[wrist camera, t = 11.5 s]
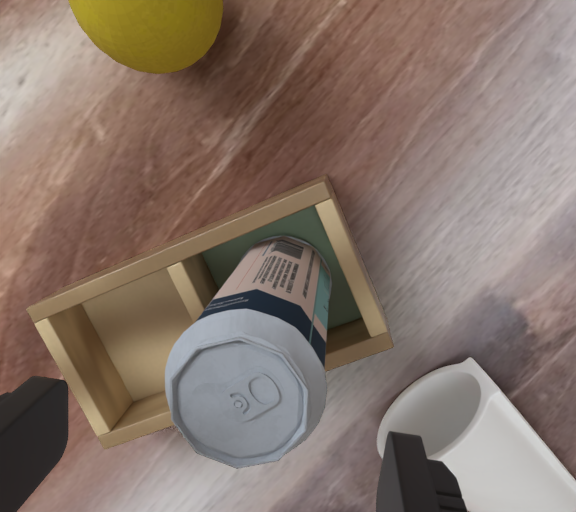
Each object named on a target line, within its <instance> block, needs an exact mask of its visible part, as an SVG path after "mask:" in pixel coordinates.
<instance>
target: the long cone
mask: <svg viewBox="0 0 576 512" xmlns="http://www.w3.org/2000/svg"><path fill="white" fill-rule="evenodd" d="M389 431H393V432H399V433H406V434H412V435H419V436H421V438H422V441H423V445H424V449H425V452H426V456H427V459H431V460H437V461H442V462H443V463H444V464H445V465H446V466H447V467H448V469H449V470H450V471H451V472H452V473H453V474H454V476H455V477H456V478H457V481H458V484H459V487H460V490H461V493H462V499H464V502H465V505H466V508H467V510H468V511H470V512H576V480H575V479H574V478H573V476H572V475H571V474H570V473H569V472H568V470H567V469H566V468H565V467H564V466H563V464H562V463H561V462H560V461H559V459H558V458H557V457H556V456H555V455H554V453H553V452H552V451H551V450H550V449H549V447H548V446H547V445H546V444H545V443H544V441H543V440H542V439H541V438H540V437H539V435H538V434H537V433H536V432H535V431H534V429H533V428H532V427H531V426H530V425H529V423H528V422H527V421H526V420H525V418H524V417H523V416H522V414H521V413H520V412H519V411H518V410H517V409H516V407H515V406H514V405H513V404H512V403H511V402H510V400H509V399H508V398H507V397H506V396H505V394H504V393H503V392H502V391H501V390H500V388H499V387H498V386H497V385H496V384H495V383H494V382H493V380H492V379H491V378H490V377H489V376H488V375H487V373H486V372H485V371H484V370H483V369H482V368H481V367H480V366H479V365H478V364H477V363H476V361H475V360H474V359H473V358H471V357H469V358H468V359H466V360H465V361H464V362H462V363H459V364H453V365H449V366H445V367H442V368H439V369H436V370H434V371H432V372H430V373H428V374H426V375H424V376H423V377H421V378H419V379H418V380H416V381H415V382H414V383H412V384H411V385H410V386H409V387H407V388H406V389H405V390H404V391H403V392H402V393H401V394H400V395H399V396H398V397H397V398H396V400H395V401H394V402H393V403H392V405H391V406H390V407H389V409H388V410H387V412H386V414H385V416H384V417H383V419H382V422H381V424H380V427H379V430H378V435H377V449H378V452H379V454H380V456H381V458H382V459H383V455H384V450H385V444H386V439H387V435H388V432H389Z"/></svg>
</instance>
